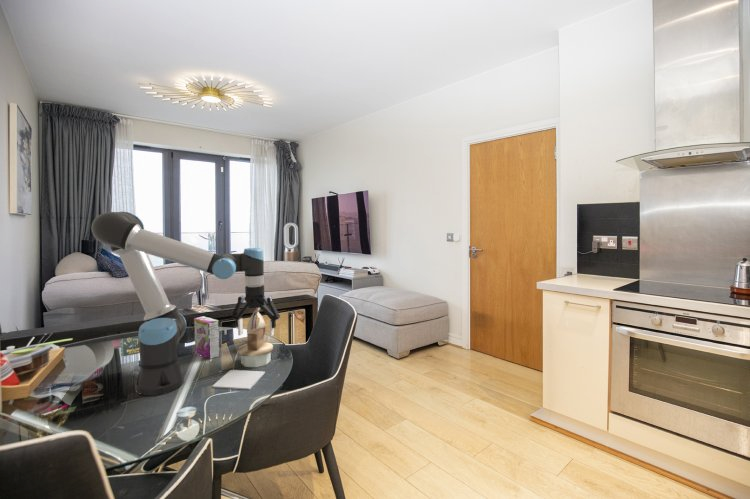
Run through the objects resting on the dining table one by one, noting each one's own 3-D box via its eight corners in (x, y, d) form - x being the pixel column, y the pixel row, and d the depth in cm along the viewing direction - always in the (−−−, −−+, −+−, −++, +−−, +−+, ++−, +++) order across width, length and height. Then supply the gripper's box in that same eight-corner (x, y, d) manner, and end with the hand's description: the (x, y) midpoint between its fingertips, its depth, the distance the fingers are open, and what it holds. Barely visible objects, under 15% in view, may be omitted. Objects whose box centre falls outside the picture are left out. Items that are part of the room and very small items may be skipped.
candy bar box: (194, 354, 161) (193, 318, 160) (204, 351, 165) (203, 315, 164) (209, 360, 155) (208, 322, 154) (220, 356, 159) (219, 319, 158)
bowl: (237, 366, 149) (237, 354, 149) (249, 356, 160) (248, 345, 160) (263, 367, 148) (263, 355, 148) (273, 357, 159) (273, 346, 159)
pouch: (263, 354, 163) (263, 312, 161) (244, 355, 161) (243, 313, 159) (267, 335, 187) (266, 299, 185) (250, 336, 185) (249, 300, 183)
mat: (212, 387, 131) (212, 386, 131) (230, 370, 145) (230, 369, 145) (249, 389, 130) (249, 388, 129) (265, 372, 143) (265, 371, 143)
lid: (231, 355, 147) (231, 336, 146) (247, 343, 161) (246, 325, 160) (265, 357, 146) (265, 337, 145) (277, 345, 160) (277, 326, 159)
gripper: (286, 284, 153) (288, 333, 156) (230, 282, 156) (232, 331, 158) (280, 287, 146) (281, 338, 148) (221, 286, 148) (223, 336, 150)
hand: (256, 335), depth 153 cm, fingers open, 13 cm apart
